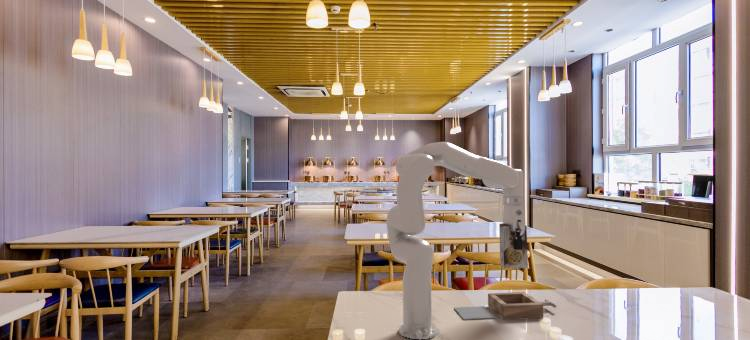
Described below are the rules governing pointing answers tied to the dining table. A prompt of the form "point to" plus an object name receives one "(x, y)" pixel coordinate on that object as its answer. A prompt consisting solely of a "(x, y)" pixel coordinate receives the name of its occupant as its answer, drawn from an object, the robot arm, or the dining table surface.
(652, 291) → the dining table surface
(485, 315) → the mat
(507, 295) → the open brown box
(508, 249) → the coffee box
